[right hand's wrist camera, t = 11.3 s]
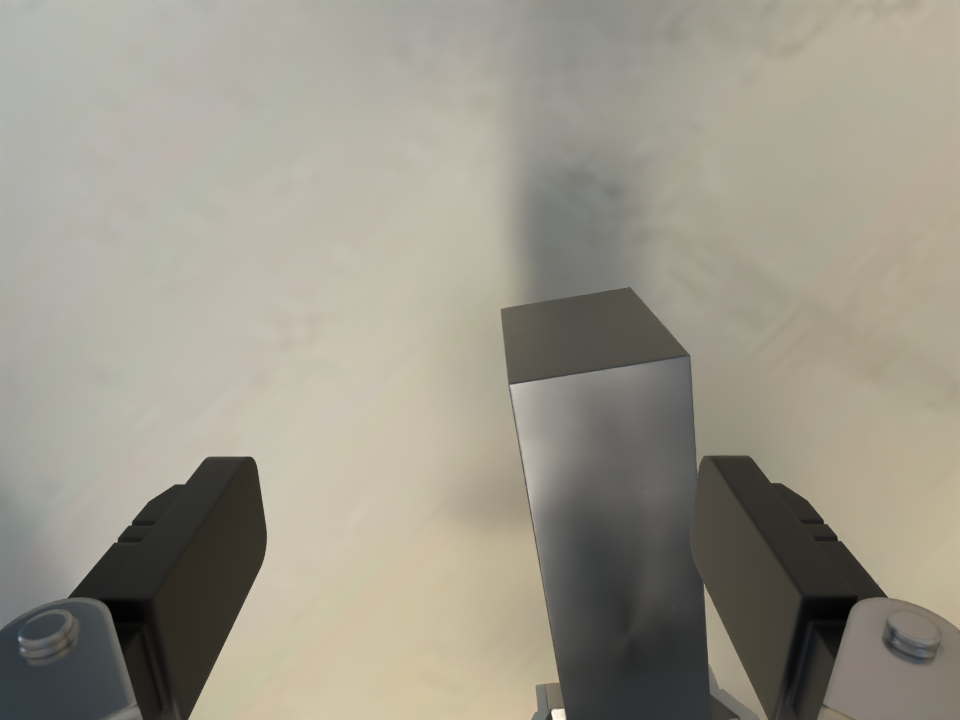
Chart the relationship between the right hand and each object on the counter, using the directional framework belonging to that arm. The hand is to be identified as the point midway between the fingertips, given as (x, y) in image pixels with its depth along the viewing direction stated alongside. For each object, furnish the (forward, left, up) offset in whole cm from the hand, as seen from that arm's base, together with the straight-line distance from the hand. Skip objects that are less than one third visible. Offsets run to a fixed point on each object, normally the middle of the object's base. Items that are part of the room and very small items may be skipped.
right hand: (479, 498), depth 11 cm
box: (-14, -2, -18) cm, 23 cm away
